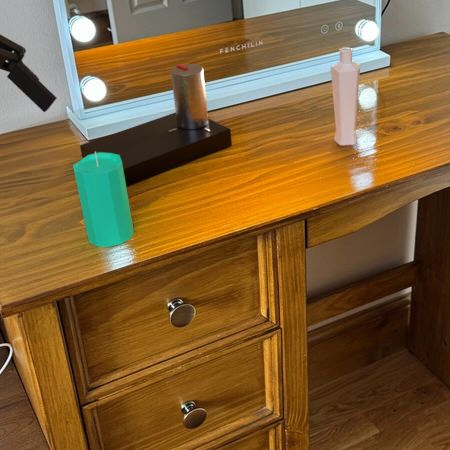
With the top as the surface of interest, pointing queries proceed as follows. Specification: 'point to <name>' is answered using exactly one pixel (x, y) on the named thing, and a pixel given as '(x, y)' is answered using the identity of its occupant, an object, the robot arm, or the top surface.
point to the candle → (104, 199)
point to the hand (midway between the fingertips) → (20, 126)
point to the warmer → (160, 146)
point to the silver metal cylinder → (189, 96)
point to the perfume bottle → (345, 97)
